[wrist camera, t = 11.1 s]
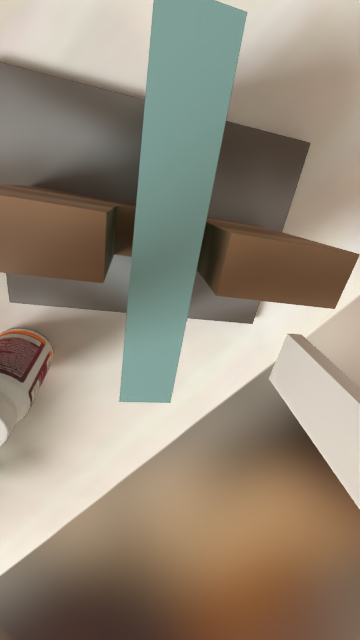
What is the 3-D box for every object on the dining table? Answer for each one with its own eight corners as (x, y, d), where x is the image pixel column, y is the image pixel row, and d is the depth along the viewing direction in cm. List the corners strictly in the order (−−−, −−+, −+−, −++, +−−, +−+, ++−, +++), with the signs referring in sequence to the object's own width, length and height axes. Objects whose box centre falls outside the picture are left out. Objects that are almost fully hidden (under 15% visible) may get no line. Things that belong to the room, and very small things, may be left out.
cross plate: (145, 102, 15) (155, -21, 6) (185, 112, 16) (247, 12, 7) (126, 314, 21) (119, 401, 12) (156, 316, 22) (170, 402, 13)
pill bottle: (-19, 339, 21) (-104, 419, 14) (34, 318, 21) (-22, 388, 14) (17, 380, 23) (-39, 468, 16) (65, 361, 23) (31, 441, 16)
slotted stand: (-13, 63, 14) (-326, -202, 5) (303, 144, 18) (486, 93, 9) (14, 298, 20) (-99, 395, 10) (249, 320, 24) (322, 404, 15)
